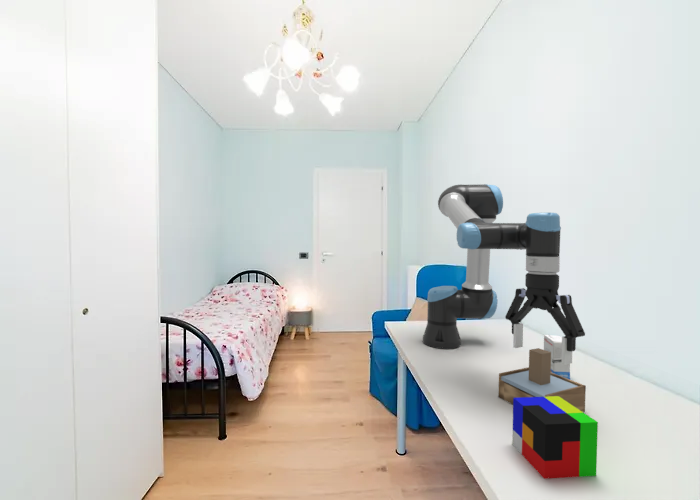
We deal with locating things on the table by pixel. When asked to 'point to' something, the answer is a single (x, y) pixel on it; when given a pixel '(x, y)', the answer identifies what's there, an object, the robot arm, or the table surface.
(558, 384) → the cover plate
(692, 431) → the table surface
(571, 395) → the oak box
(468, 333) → the table surface
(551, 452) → the puzzle toy
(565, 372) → the ink box
